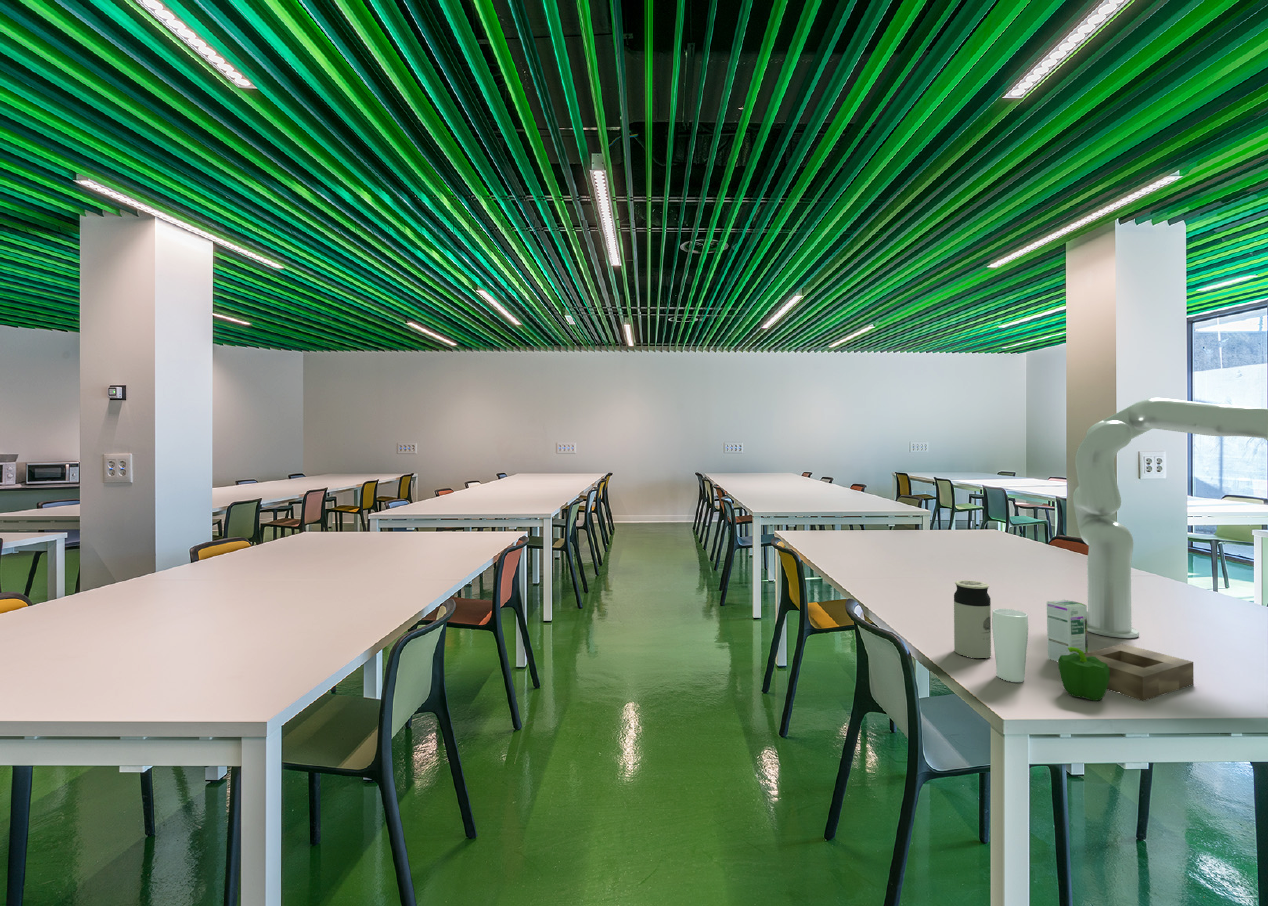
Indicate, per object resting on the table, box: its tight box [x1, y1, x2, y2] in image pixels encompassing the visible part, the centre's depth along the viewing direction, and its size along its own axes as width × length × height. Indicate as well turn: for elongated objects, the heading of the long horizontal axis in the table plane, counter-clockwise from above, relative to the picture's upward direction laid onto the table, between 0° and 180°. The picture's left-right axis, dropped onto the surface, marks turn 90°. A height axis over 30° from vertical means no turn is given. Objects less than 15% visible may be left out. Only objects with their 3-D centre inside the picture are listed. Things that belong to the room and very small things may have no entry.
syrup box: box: [1046, 599, 1089, 662], centre depth 137 cm, size 6×6×14 cm
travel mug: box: [953, 579, 992, 659], centre depth 142 cm, size 8×8×18 cm
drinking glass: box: [991, 608, 1029, 683], centre depth 127 cm, size 7×7×15 cm
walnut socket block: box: [1084, 643, 1195, 702], centre depth 125 cm, size 13×20×5 cm, turn 113°
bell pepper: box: [1057, 647, 1110, 701], centre depth 118 cm, size 8×8×10 cm
